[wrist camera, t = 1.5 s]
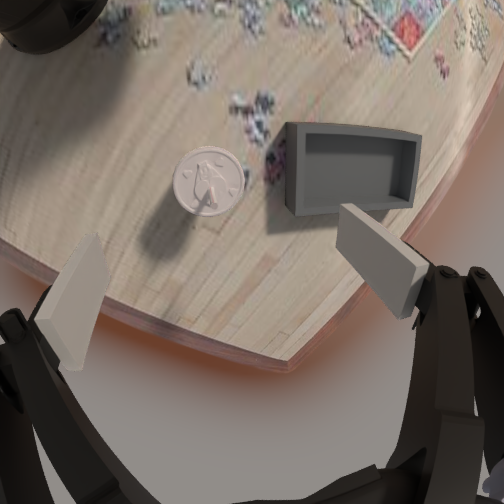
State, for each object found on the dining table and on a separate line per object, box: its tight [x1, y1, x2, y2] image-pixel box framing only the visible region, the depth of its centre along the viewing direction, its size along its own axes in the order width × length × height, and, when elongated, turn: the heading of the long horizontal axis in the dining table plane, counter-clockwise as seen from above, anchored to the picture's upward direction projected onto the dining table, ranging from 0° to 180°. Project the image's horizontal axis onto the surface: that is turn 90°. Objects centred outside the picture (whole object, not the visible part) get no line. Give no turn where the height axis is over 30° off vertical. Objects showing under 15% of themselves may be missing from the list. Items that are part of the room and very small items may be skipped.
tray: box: [285, 122, 422, 217], centre depth 33 cm, size 11×19×4 cm, turn 92°
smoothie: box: [173, 146, 245, 217], centre depth 26 cm, size 6×6×14 cm
